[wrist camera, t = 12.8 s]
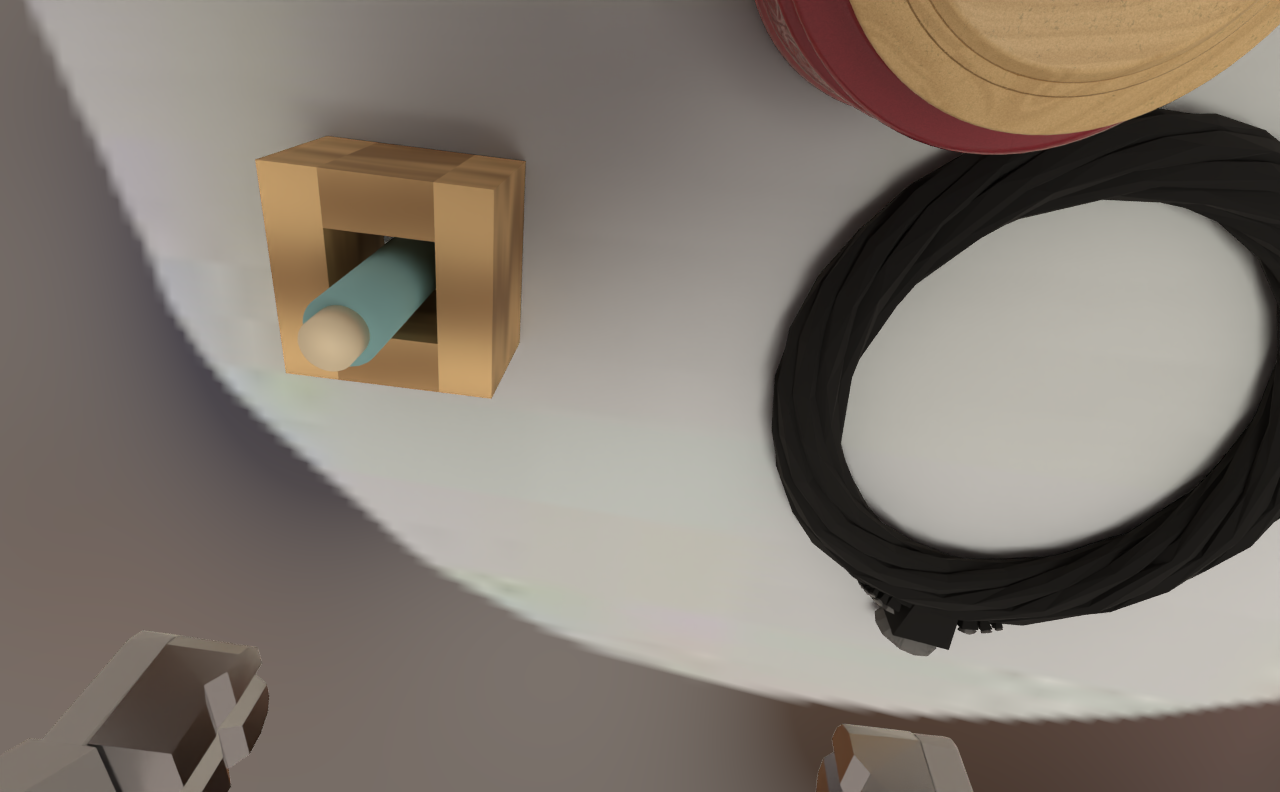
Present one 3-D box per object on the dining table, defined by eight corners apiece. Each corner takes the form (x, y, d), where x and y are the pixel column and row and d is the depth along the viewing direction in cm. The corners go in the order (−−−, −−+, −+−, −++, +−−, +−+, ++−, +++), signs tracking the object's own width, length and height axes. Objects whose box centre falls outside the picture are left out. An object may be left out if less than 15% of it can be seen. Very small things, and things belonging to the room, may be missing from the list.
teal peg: (400, 215, 33) (280, 301, 23) (459, 223, 33) (364, 312, 23) (403, 272, 34) (291, 376, 25) (460, 279, 34) (370, 386, 25)
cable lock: (1588, 239, 28) (1126, 715, 42) (1489, 215, 31) (1092, 663, 45) (946, 11, 25) (682, 599, 39) (914, 12, 28) (682, 553, 42)
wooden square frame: (326, 136, 32) (255, 159, 26) (525, 161, 32) (494, 189, 26) (344, 320, 36) (286, 373, 31) (519, 342, 36) (491, 398, 31)
